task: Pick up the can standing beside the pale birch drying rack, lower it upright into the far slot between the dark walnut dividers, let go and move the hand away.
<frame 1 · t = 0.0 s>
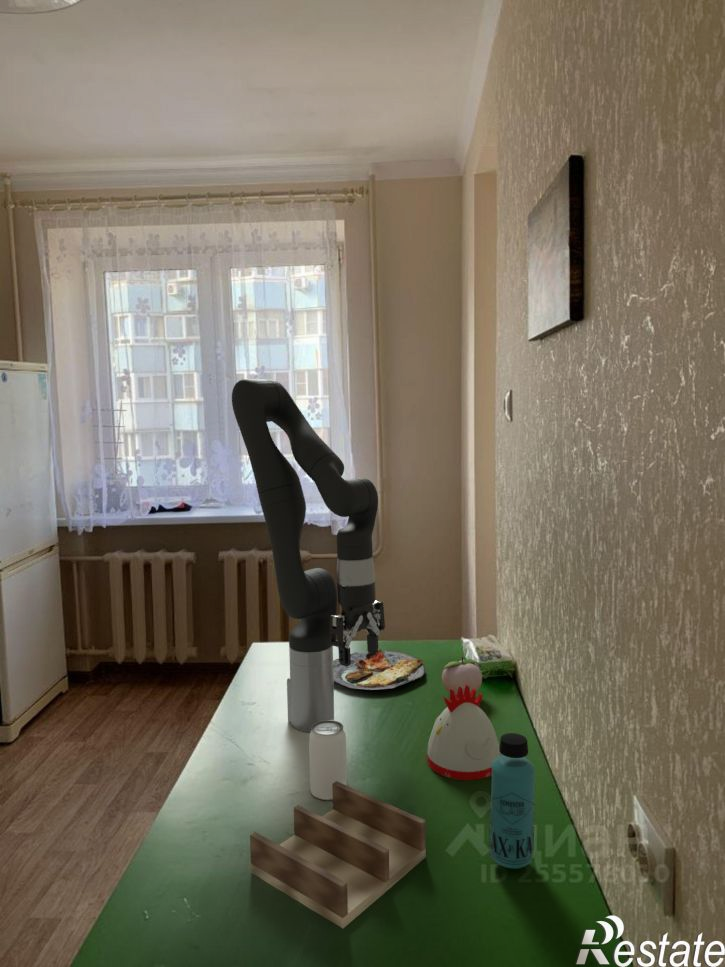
hand: (359, 659, 146), 17 cm above the table, tool pointing down, fingers open, 8 cm apart
decorative fruit: (463, 700, 167), on the table
can: (328, 792, 129), on the table
kitchen timer: (463, 762, 139), on the table
drying rack: (339, 865, 109), on the table
beverage bottle: (511, 866, 108), on the table
food plate: (375, 676, 182), on the table
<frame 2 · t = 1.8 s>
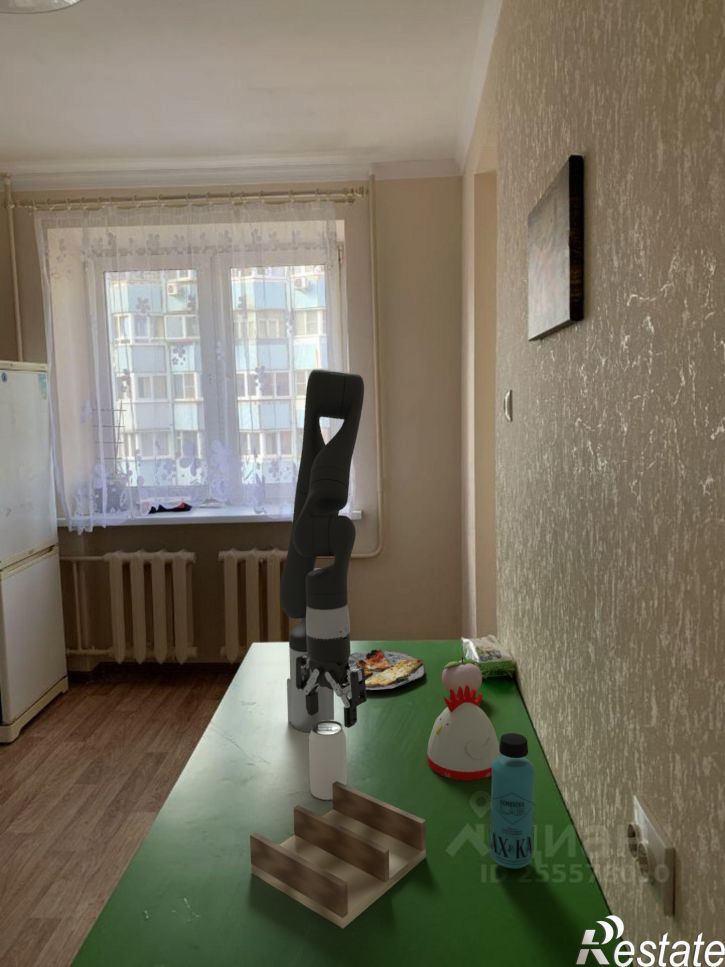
hand: (331, 719, 127), 13 cm above the table, tool pointing down, fingers open, 8 cm apart
nothing on the table moved.
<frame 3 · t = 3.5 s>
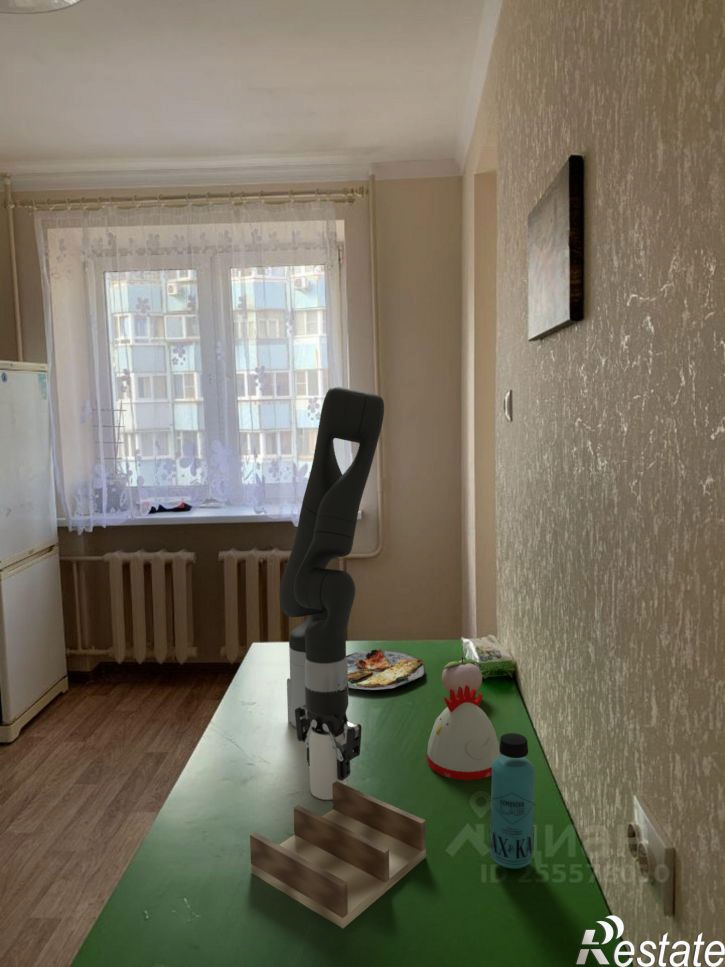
hand: (328, 771, 129), 4 cm above the table, tool pointing down, fingers closed on can, 6 cm apart
can: (328, 792, 129), on the table, touching gripper
everything else where it was.
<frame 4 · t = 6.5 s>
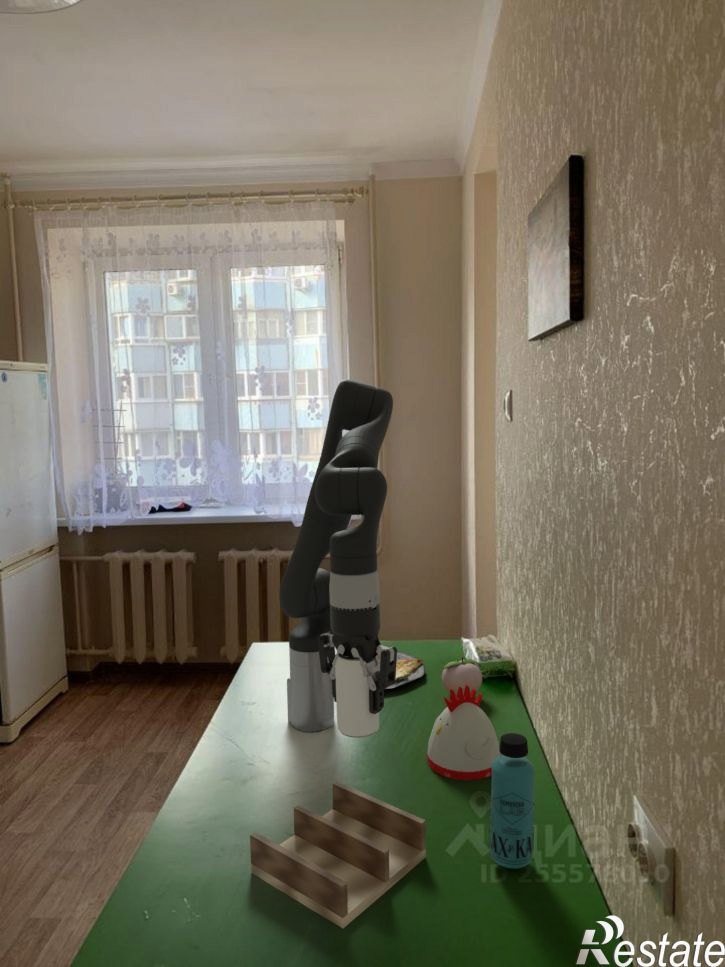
hand: (358, 706, 111), 23 cm above the table, tool pointing down, fingers closed on can, 6 cm apart
can: (358, 730, 112), point 19 cm above the table, touching gripper
everything else where it was.
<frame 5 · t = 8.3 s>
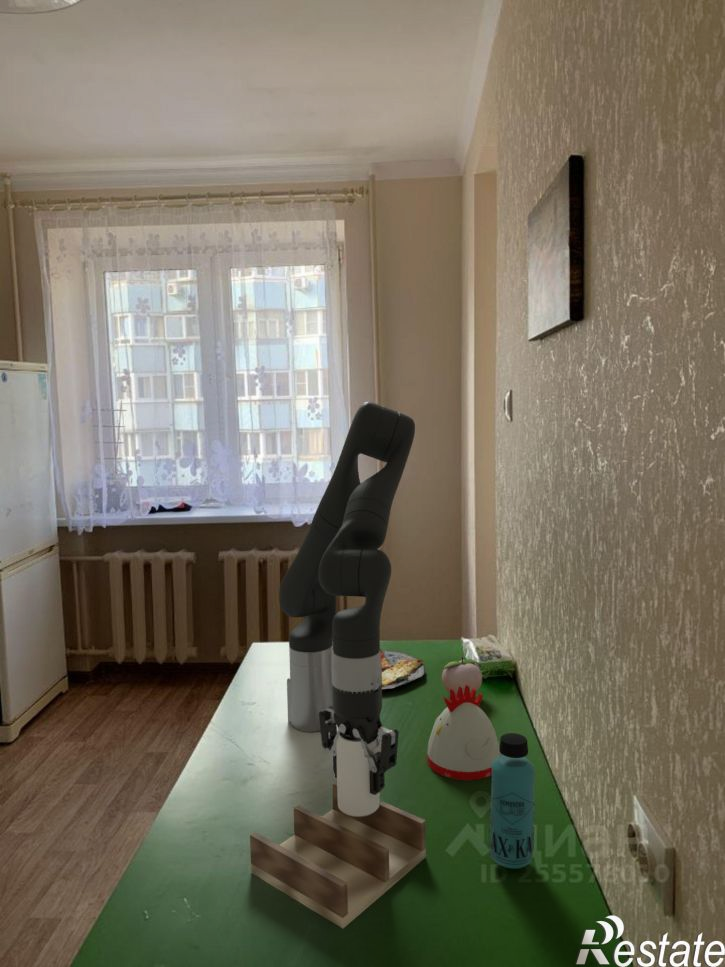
hand: (358, 784, 111), 11 cm above the table, tool pointing down, fingers closed on can, 6 cm apart
can: (358, 807, 112), point 7 cm above the table, touching gripper
everything else where it was.
when the fingers open (7 cm above the table, at t = 9.7 s): can drops 1 cm, resting on drying rack.
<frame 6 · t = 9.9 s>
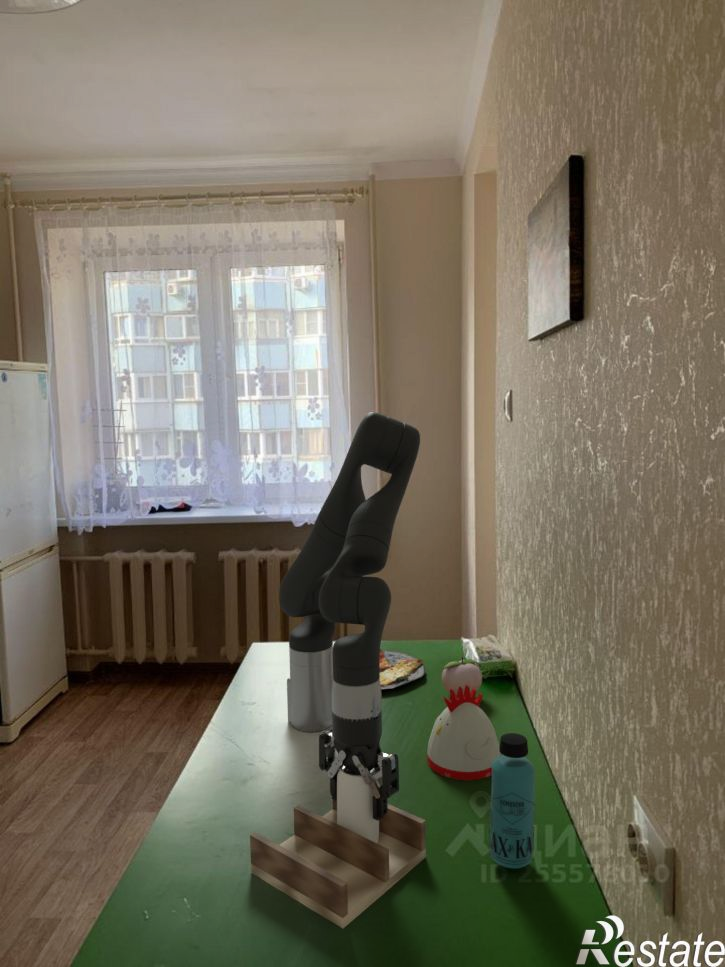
hand: (358, 807, 111), 7 cm above the table, tool pointing down, fingers open, 8 cm apart
can: (358, 841, 112), point 1 cm above the table, touching drying rack
everything else where it was.
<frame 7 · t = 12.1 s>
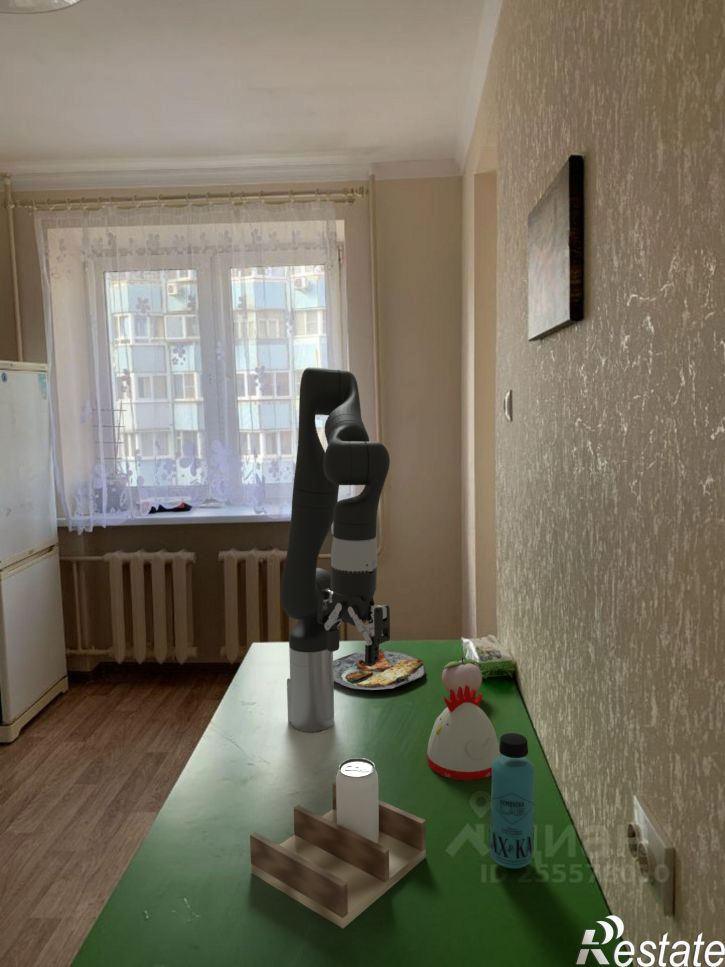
hand: (351, 657, 121), 26 cm above the table, tool pointing down, fingers open, 8 cm apart
nothing on the table moved.
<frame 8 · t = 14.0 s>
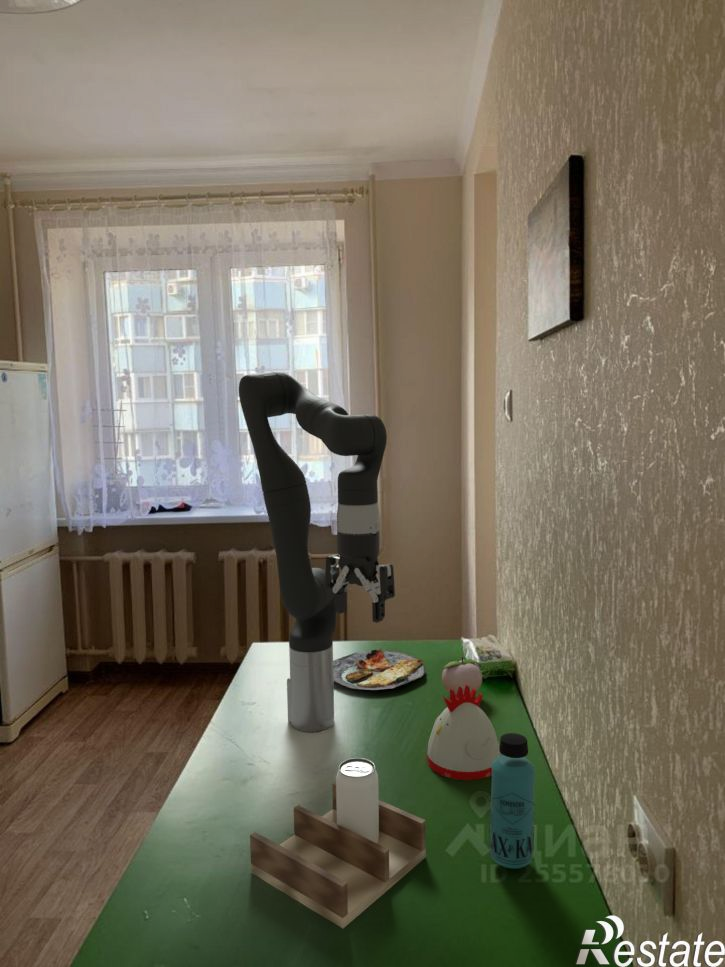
hand: (359, 616, 131), 30 cm above the table, tool pointing down, fingers open, 8 cm apart
nothing on the table moved.
at the end: can inside the target area on the drying rack (0.2 cm from its centre), point 1.3 cm above the drying rack's base; can tilted 0°; the gripper is holding nothing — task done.
